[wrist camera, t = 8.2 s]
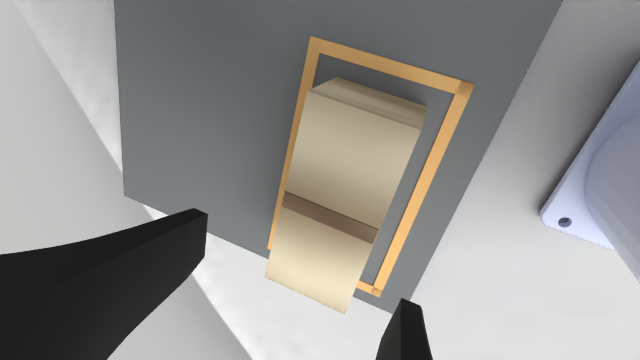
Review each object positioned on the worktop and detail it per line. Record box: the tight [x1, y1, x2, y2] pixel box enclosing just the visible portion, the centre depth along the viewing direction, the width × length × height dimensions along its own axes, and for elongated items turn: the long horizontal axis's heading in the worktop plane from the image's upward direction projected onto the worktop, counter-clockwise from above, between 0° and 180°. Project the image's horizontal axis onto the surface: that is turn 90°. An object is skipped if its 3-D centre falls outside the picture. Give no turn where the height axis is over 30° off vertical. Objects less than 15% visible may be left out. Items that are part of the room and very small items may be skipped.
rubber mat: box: [114, 0, 563, 314], centre depth 19 cm, size 21×20×1 cm
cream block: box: [265, 77, 427, 314], centre depth 17 cm, size 10×4×4 cm, turn 165°
